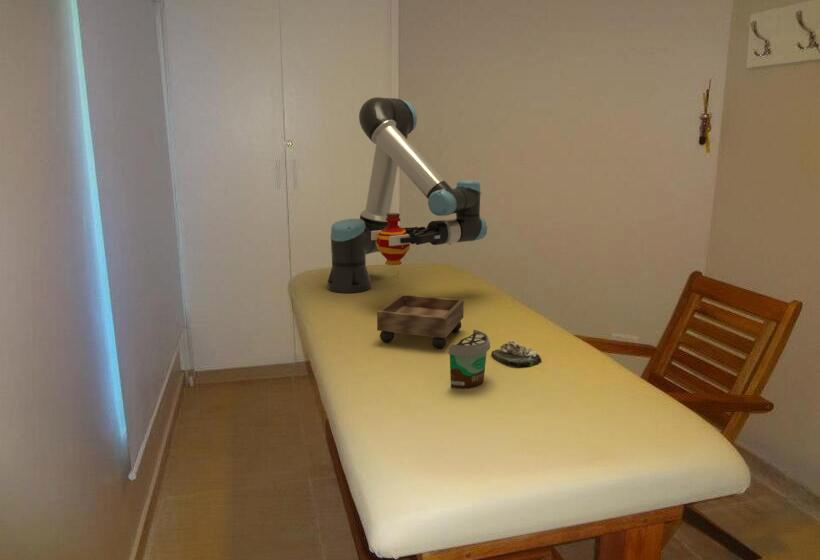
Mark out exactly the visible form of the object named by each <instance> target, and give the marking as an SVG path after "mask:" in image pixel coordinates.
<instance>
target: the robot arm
mask: <svg viewBox="0 0 820 560" xmlns="http://www.w3.org/2000/svg"><path fill="white" fill-rule="evenodd" d="M359 109H360V110H359V114H358V119H359V121H358V122H359V125H360V127H361V130H362V132H364V134H365V135H366V137H367V138H368V139H369V140H370V141H371V142H372V144H374V145H375V148H374V149H375V151H374V156H373V163H372V168H371V175H370V180H369V186H368V193H367V198H366V204H365V209H363V210H362V211H361V212H360V214H359V215H360V216H359V218H348V219H341V220H338V221H335V222H334V223H333V224H332V225H331V228H330V245H331V246H330V248H331V249H330V250H331V251H330V252H331V268H330V273H329V276H328V280H327V290H328V291H331V292H334V293H339V294H340V293H344V294H345V293H346V294H347V293H349V294H350V293H353V294H355V293H362V292H365V291H368V290H370V289H371V288H372V281H371V277H370V274H369V271H368V268H367V265H366V264H367V263H366V261H367V260H366V259H367V258H366V256H367V255H369V254H373V253H379V252H380V251H379V250H378V249H377V246H376V241H377V238H378V237H376V235H377V234H378V233H379V232H380V231H381V230H383V229H385V227H387V226H388V221H386V218H387V215H386V214H387V213H391V207H392V200H393V195H394V189H395V184H396V178H397V173H398V168H399V169H401V170H402V172H403V173H404V174H405V175H406V176H407V178H408V179H409V180H410V181H411V182H412V183H413V184H414V185H415V187H417V189H418V191H419V190H420V192H421V193H422V194H423V195H424V196H425V198H427V205H428V207H429V211H430V212H431V214H434V216H440V217H441V216H442V217H443V216H445V217H446V216H447V217H448V216H450V215H453V214H456V215H455V216H456V218H452V219H451V218H449V219H443V220H432V221H430V222H429V223H428V224H427V226H419V227H418V226H412V227H402V228H404V229H405V230H406V233H407V234H408V235H398V236H389V246H395V245H404V244H410V245H414V244H415V245H417V246H418V245H419V246H420V245H423V244H428V243H430V244H431V245H432V246H439V245H443V244H444V245H445V244H448V245H449V246H451V245H452V244H455V243H456V244H457V243H464V242H466V243H467V242H474V241H479V240H483V239H484V238H485V237H486V235H487V232H488V225H487V222H486V219H485V218H484V217H481V215H480V211H481V208H480V207H481V193H482V192H481V183H480V181H478V180H475V179H474V180H473V179H467V180H465V179H463V180H462V179H461V180H458V181H457V182H456V187H455V188H452V187H451V186H450V185H449V184H448V182H446V181H445V179H444V178H443V177H442V176H441V175H440V174H439V173H438V171H436V169H435V168H434V167H433V166H432V165H431V164H430V163H429V162H428V161H427V160H426V159H425V158H424V157H423V155H422V154H421V153H420V152H419V151H418V150H417V149H416V148H415V146H414V145H413V144H412V143H411V142H410V141H409V140H408V136H409V135H410V134H412V132H413V131H414V130H415V128H416V126H417V122H418V121H417V120H418V118H417V117H418V116H417V113H416V110H415V109H414V106H413V105H412V104H411V103H410V102H409V101H407V100H405V99H401V98H396V97H395V98H393V97H378V96H377V97H372V98H370V99H367V100H366V101H365V102H364V103H363V104H362V106H361V107H360V108H359ZM402 228H401V229H402ZM380 253H381V252H380Z"/></svg>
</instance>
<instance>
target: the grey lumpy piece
mask: <svg viewBox="0 0 820 560" xmlns="http://www.w3.org/2000/svg"><path fill="white" fill-rule="evenodd" d="M490 357H491V358H492V359H494V360H495V361H496V362H498V363H501V364H502V365H505V366H508V367H511V368H516V369H518V368H519V369H520V368H522V369H523V368H531V367H535V366H537V365H539V364H541V363H542V359H541V356H540V355H539V354H537V351H536V350H535V349H532V348H531V347H526V346H524V345H520V344H519V343H517V342H515V341H514V340H509V341H508V342H507V343H503V344H502V345H501V346H500V347H499V348H498V349H495V350H492V351H491V356H490Z"/></svg>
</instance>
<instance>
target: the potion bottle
mask: <svg viewBox="0 0 820 560" xmlns="http://www.w3.org/2000/svg"><path fill="white" fill-rule="evenodd" d="M386 215H387V218H386V221H388V226H387V227H385V229H383V230H381V231H380V232H379V233H378V234H377V235H376V237H378V238H377V241H376V246H377V249H378V250H379V251H380V254H381V255H382V256H383V257H384V258H385V259H386V261H385V263H384V264H385V265H386V266H400V265H402V264H403V262H402V261H401V260H402V259H403V258H405V256H406V254H407V253H408V251H409V250H410V248H411V243H410V244H404V245H395V246H389V236H398V235H408V234H407V233H406V230H405V229H404V228H405V227H402V226H400V225H399V222H401V218H400V215H401V213H397V212H389V213H387V214H386ZM401 228H402V229H401Z"/></svg>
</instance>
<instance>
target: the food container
mask: <svg viewBox="0 0 820 560" xmlns="http://www.w3.org/2000/svg"><path fill="white" fill-rule="evenodd" d="M472 331H473V332H472V334H471V335H469V336H468V337H464V338H462V339H461V340H459V341H458V342H457V343H456V344H452V343H451V344H449V347H448V352H447V355H449V368H450V369H449V371H450V372H449V373H450V375H449V376H450V388H453V389H457V390H458V389H460V390H466V389H467V390H470V389H475V388H478V387H480V386H483V384H484V381H485V371H486V361H487V352H489V350H490V349H491V343H490V338H489V336H488V334H486V333H485V332H484V331H480V330H478V329H473V330H472Z"/></svg>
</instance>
